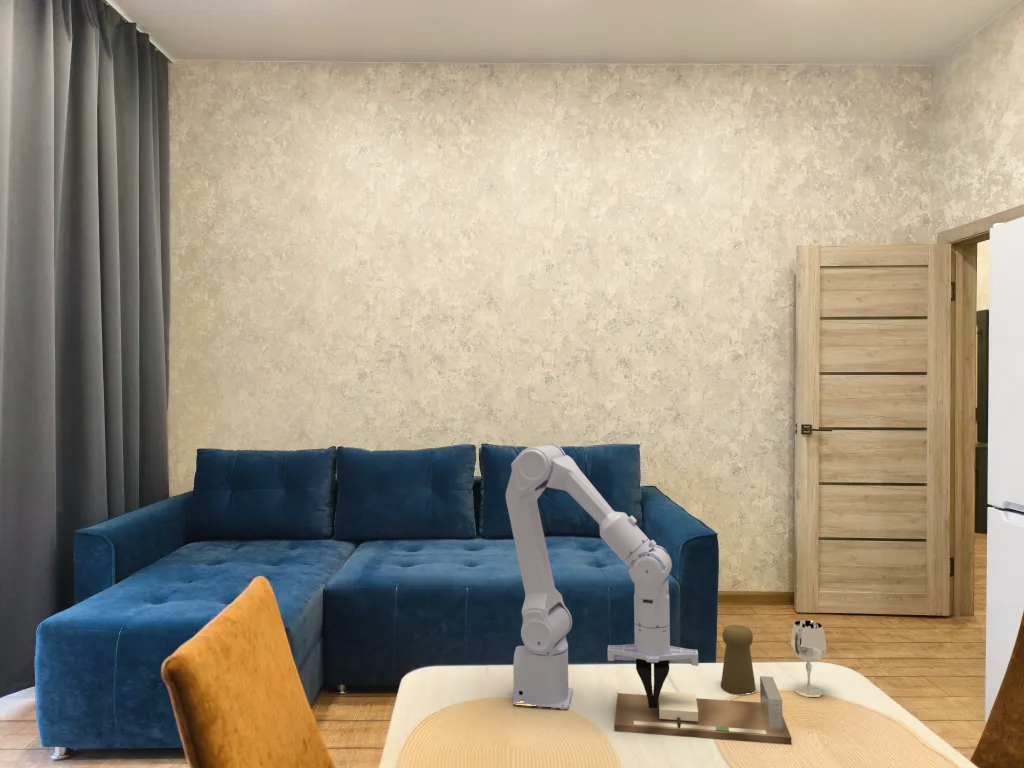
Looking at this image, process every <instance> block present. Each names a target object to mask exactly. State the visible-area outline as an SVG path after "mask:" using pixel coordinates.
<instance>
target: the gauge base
mask: <svg viewBox="0 0 1024 768" xmlns="http://www.w3.org/2000/svg"><path fill="white" fill-rule="evenodd" d="M696 701H697V708H698V722H697V721H683V720H681V725H678V724H677V720H669V719H659V699H658V708H649V704H648V698H647V695H646V694H637V693H622V692H618V693H617V697H616V705H615V706H616V708H615V716H614V717H615V718H614V725H613V727H614V729H613V730H614V732H625V733H626V732H627V733H635V734H636V733H637V734H638V733H639V734H651V735H663V736H664V735H665V736H678V737H690V738H691V737H692V738H701V739H702V738H703V739H704V738H705V739H717V740H718V739H719V740H732V741H742V742H757V743H758V742H759V743H768V742H770V743H772V744H784V745H792V736H791V733H790V731H789V728H788V726H787V724H786V721H785V717H784V716H783V714H782V722H783V732H769V730H768V727H767V724H766V721H765V718H764V715H763V712H762V709H761V706H760V702H757V701H746V700H745V701H743V700H727V699H726V700H725V699H716V698H715V699H712V698H697V697H696Z"/></svg>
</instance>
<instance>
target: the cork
mask: <svg viewBox="0 0 1024 768" xmlns="http://www.w3.org/2000/svg"><path fill="white" fill-rule="evenodd" d="M753 639H754V636H753V633H752V631H751V629H750V628H748V627H747V626H744V625H742V624H741V625H740V624H729V625H726V626H725V627H724V628H723V631H722V640H723V643H724V644H725V650H724V658H723V665H722V673H721V683H720V689H721V690H722V691H724V692H725V693H728V694H731V695H735V694H746V693H752V692H754V691H755V690H757V688H756V682H755V674H754V668H753V660H752V653H751V646H752V644H753Z"/></svg>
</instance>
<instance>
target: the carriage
mask: <svg viewBox="0 0 1024 768" xmlns="http://www.w3.org/2000/svg"><path fill="white" fill-rule="evenodd" d="M696 698H697V695H696V693H693V692H692V693H691V692H689V693H688V692H675V691H662V690H661V691H660V695H659V719H669V720H677V724H678V725H681V720H683V721H697V722H698V708H697V701H696Z"/></svg>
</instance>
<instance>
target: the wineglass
mask: <svg viewBox="0 0 1024 768" xmlns="http://www.w3.org/2000/svg"><path fill="white" fill-rule="evenodd" d="M792 625H793V626H792V629H791V637H790V646H791V650H792V652H793V653H794V656H796V657H798V658H799V659H800V660H802V661H806V663H805V669H806V673H807V674H806V675H807V684H806V686H799V687H797V688H795V692H796V691H798V692H801V693H805V694H806V695H812V696H813V695H814V696H815V695H822V696H823V692H822V690H820V689H818V688H815V687H812V684H811V672H812V670H813V669H812V662H817V661H819V660H822V658H823V657H824V656H825V655H826V651H827V640H826V634H825V630H824V627H823V624H822V623H820V622H819V621H818V622H817V621H813V620H806V619H802V620H801V619H799V620H796V621H794V622H793V624H792Z"/></svg>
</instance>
